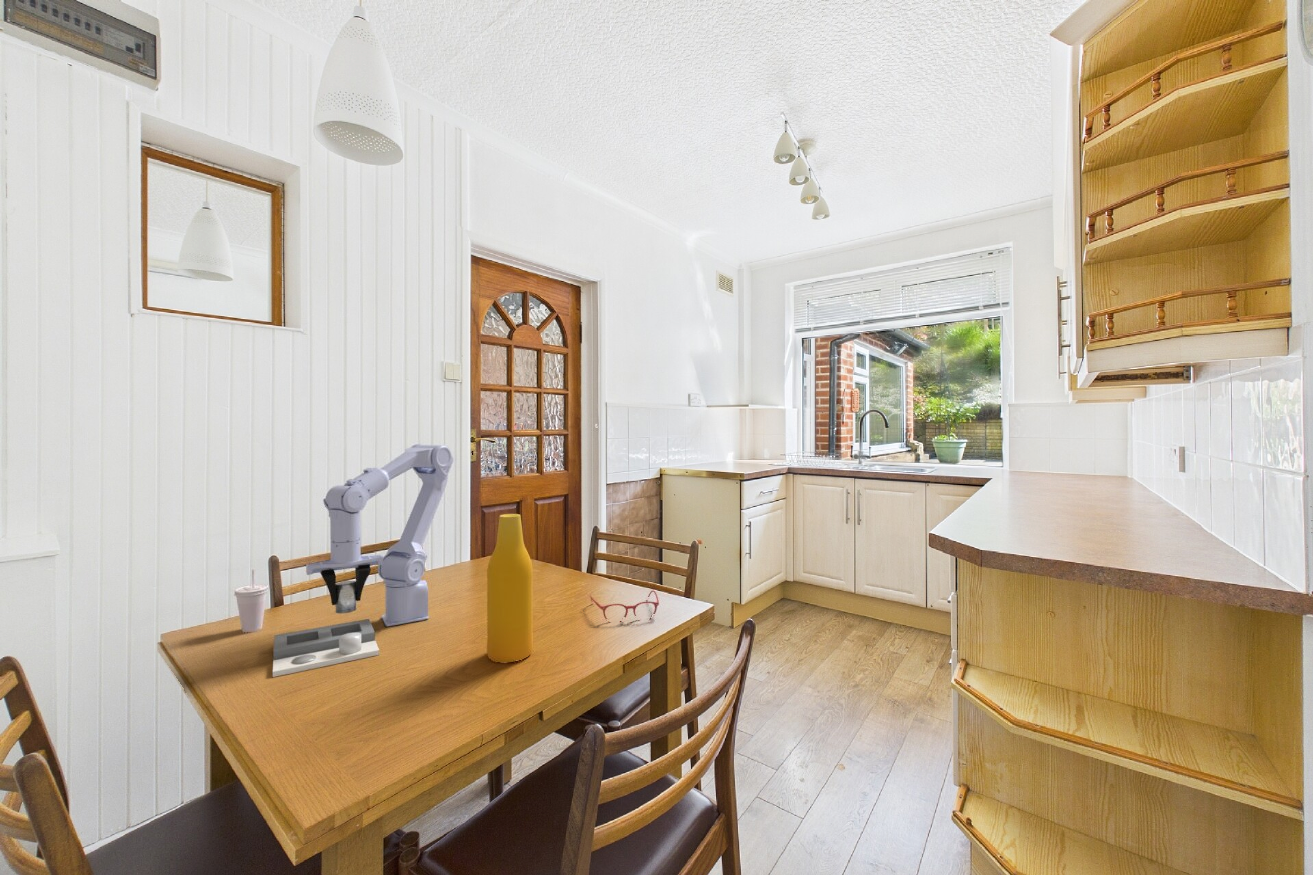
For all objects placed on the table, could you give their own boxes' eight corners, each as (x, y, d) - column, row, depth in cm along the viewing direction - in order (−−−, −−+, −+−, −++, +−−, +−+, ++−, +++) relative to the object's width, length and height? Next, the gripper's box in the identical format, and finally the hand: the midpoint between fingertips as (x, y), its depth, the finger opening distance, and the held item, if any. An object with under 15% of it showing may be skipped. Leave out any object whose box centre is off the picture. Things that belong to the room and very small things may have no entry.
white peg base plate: (375, 645, 117) (375, 626, 117) (379, 654, 112) (379, 635, 112) (273, 665, 107) (273, 645, 107) (272, 677, 102) (272, 655, 102)
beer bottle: (477, 659, 110) (476, 517, 109) (505, 643, 118) (505, 510, 118) (515, 667, 106) (515, 520, 106) (541, 649, 115) (541, 513, 114)
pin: (354, 606, 122) (354, 579, 122) (358, 610, 119) (358, 583, 119) (333, 609, 119) (333, 582, 119) (337, 614, 116) (337, 586, 116)
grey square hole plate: (369, 629, 126) (369, 618, 126) (374, 643, 118) (374, 632, 118) (274, 646, 116) (274, 635, 116) (273, 663, 108) (273, 651, 108)
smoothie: (250, 635, 122) (249, 574, 122) (227, 633, 123) (226, 572, 123) (275, 625, 128) (275, 566, 128) (253, 623, 129) (252, 565, 129)
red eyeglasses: (595, 626, 129) (595, 605, 129) (587, 605, 145) (587, 586, 145) (665, 620, 133) (665, 600, 133) (650, 600, 149) (651, 582, 149)
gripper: (378, 533, 126) (379, 591, 126) (304, 541, 117) (305, 603, 118) (384, 538, 121) (385, 598, 121) (307, 546, 112) (308, 612, 112)
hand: (346, 601), depth 119 cm, fingers closed on pin, 4 cm apart
